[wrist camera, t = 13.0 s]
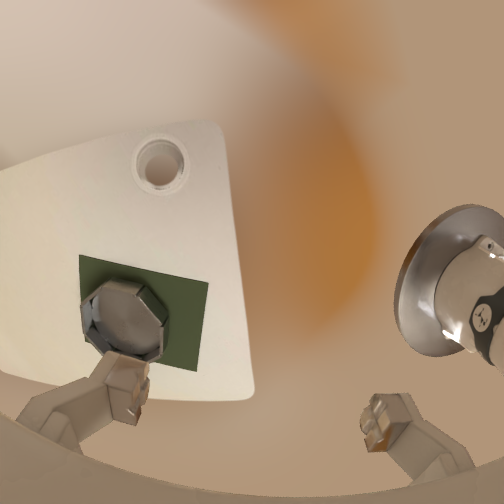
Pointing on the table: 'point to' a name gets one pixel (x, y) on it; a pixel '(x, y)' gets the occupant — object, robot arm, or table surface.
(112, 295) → the octagonal skillet
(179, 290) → the mat
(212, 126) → the table surface
